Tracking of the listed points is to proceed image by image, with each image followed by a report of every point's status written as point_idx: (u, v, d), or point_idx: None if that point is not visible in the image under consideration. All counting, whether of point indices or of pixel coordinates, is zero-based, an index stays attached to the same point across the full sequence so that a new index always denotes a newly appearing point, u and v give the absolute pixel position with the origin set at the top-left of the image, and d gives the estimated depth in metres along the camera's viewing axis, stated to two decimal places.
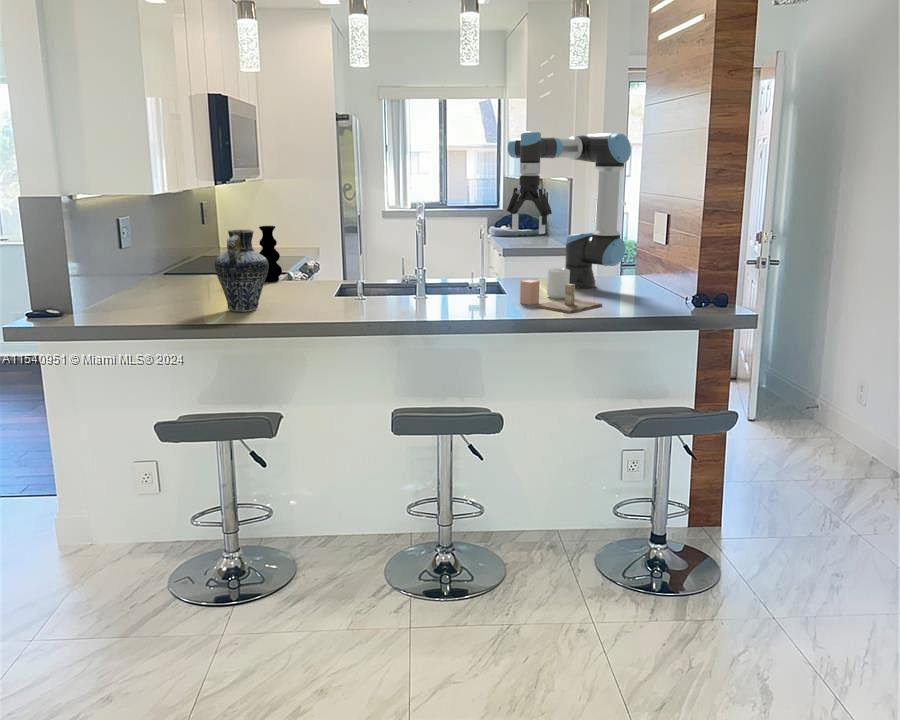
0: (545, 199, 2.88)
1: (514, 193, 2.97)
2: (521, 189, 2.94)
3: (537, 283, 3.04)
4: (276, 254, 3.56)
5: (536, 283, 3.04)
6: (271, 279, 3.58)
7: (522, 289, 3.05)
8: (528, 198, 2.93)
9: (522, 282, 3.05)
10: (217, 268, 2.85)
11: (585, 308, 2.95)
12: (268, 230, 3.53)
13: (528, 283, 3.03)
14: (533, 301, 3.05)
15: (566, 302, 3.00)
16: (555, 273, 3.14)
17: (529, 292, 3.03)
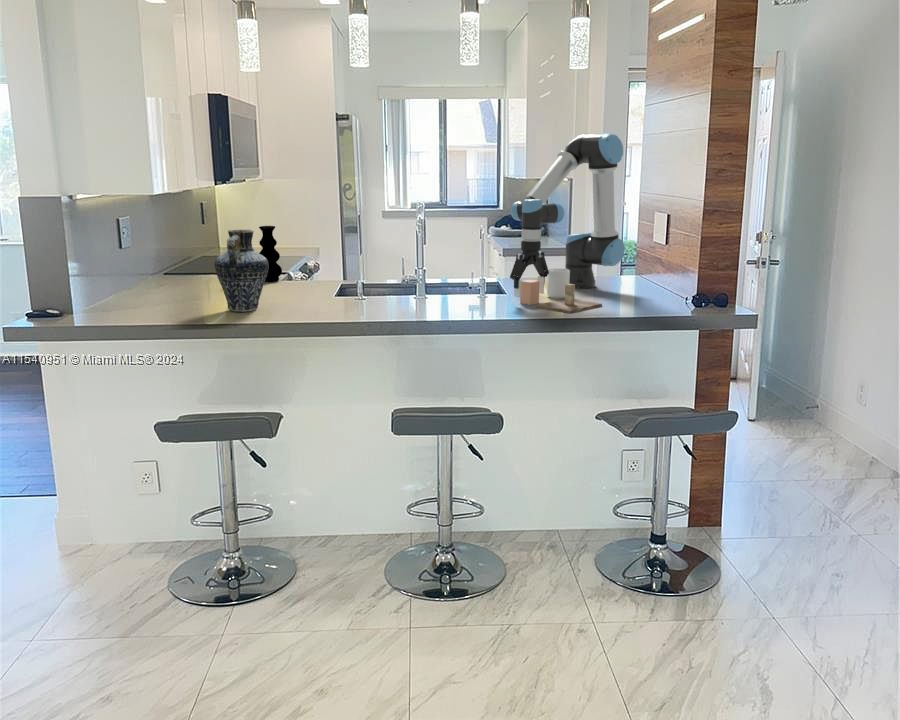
0: (516, 264, 2.98)
1: None
2: None
3: (537, 283, 3.04)
4: (276, 254, 3.56)
5: (536, 283, 3.04)
6: (271, 279, 3.58)
7: (522, 289, 3.05)
8: None
9: (522, 282, 3.05)
10: (217, 268, 2.85)
11: (585, 308, 2.95)
12: (268, 230, 3.53)
13: (528, 283, 3.03)
14: (533, 301, 3.05)
15: (566, 302, 3.00)
16: (555, 273, 3.14)
17: (529, 292, 3.03)
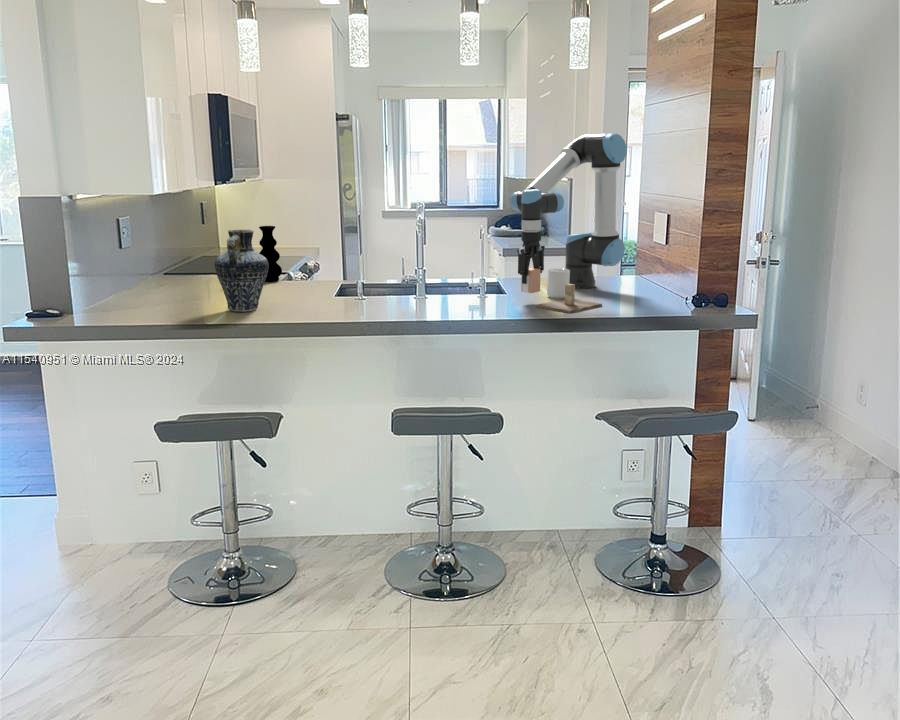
0: (520, 259, 2.99)
1: None
2: None
3: (538, 271, 3.04)
4: (276, 254, 3.56)
5: (537, 271, 3.03)
6: (271, 279, 3.58)
7: None
8: None
9: None
10: (217, 268, 2.85)
11: (585, 308, 2.95)
12: (268, 230, 3.53)
13: (529, 271, 3.02)
14: (534, 289, 3.04)
15: (566, 302, 3.00)
16: (555, 273, 3.14)
17: (530, 280, 3.02)
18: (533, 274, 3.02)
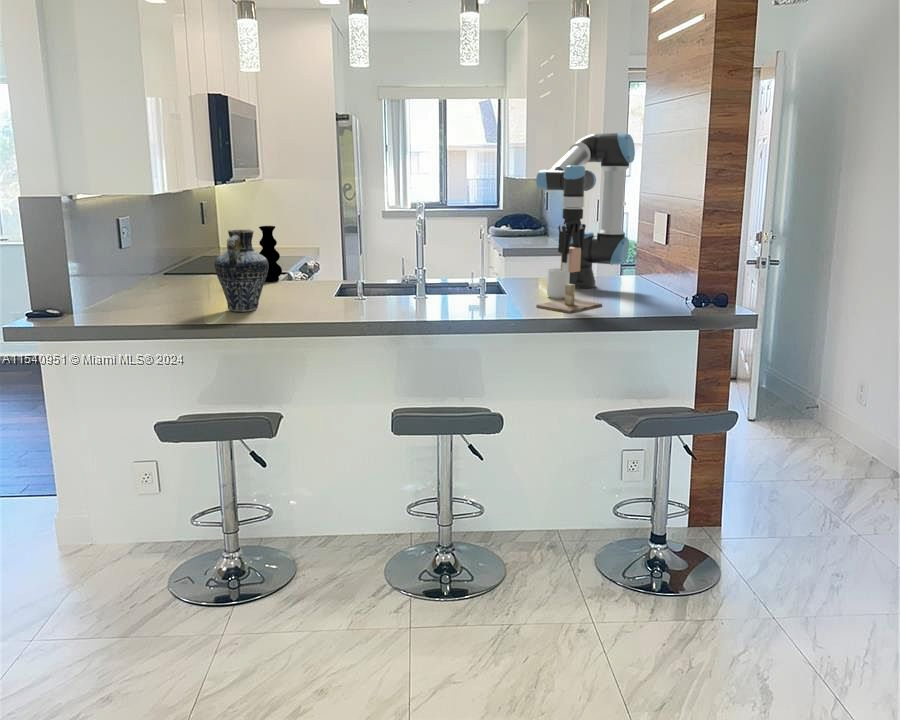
0: (561, 237, 2.90)
1: None
2: None
3: (579, 250, 2.94)
4: (276, 254, 3.56)
5: (578, 250, 2.94)
6: (271, 279, 3.58)
7: None
8: None
9: None
10: (217, 268, 2.85)
11: (585, 308, 2.95)
12: (268, 230, 3.53)
13: (570, 249, 2.92)
14: (574, 268, 2.94)
15: (566, 302, 3.00)
16: (555, 273, 3.14)
17: (571, 259, 2.93)
18: (574, 253, 2.92)
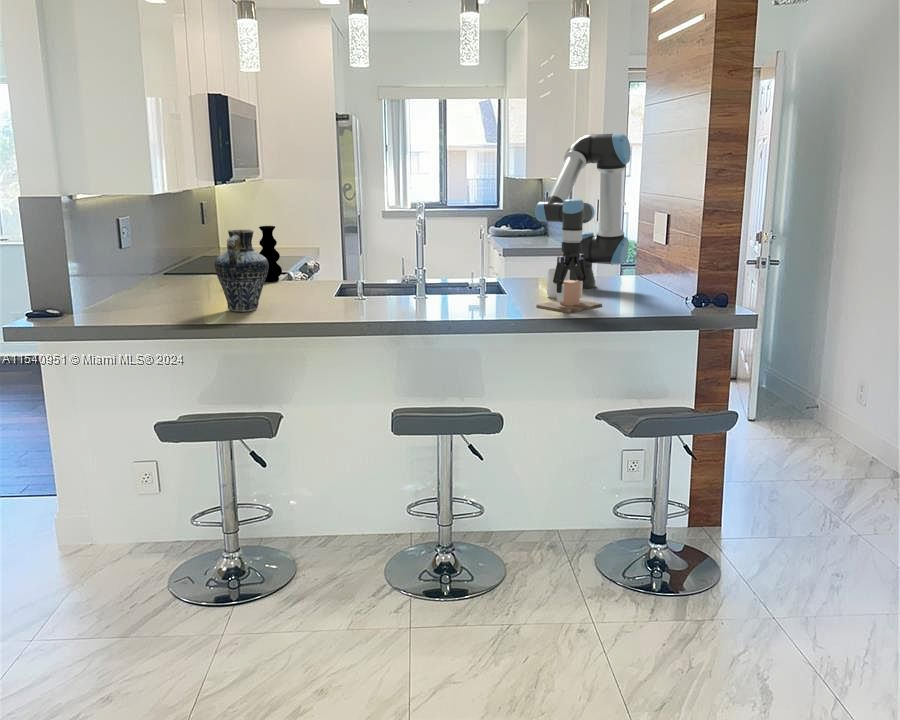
0: (558, 268, 2.92)
1: None
2: None
3: (578, 283, 2.98)
4: (276, 254, 3.56)
5: (576, 283, 2.97)
6: (271, 279, 3.58)
7: None
8: None
9: None
10: (217, 268, 2.85)
11: (585, 308, 2.95)
12: (268, 230, 3.53)
13: (569, 283, 2.96)
14: (573, 301, 2.98)
15: None
16: None
17: (570, 292, 2.96)
18: (573, 286, 2.96)
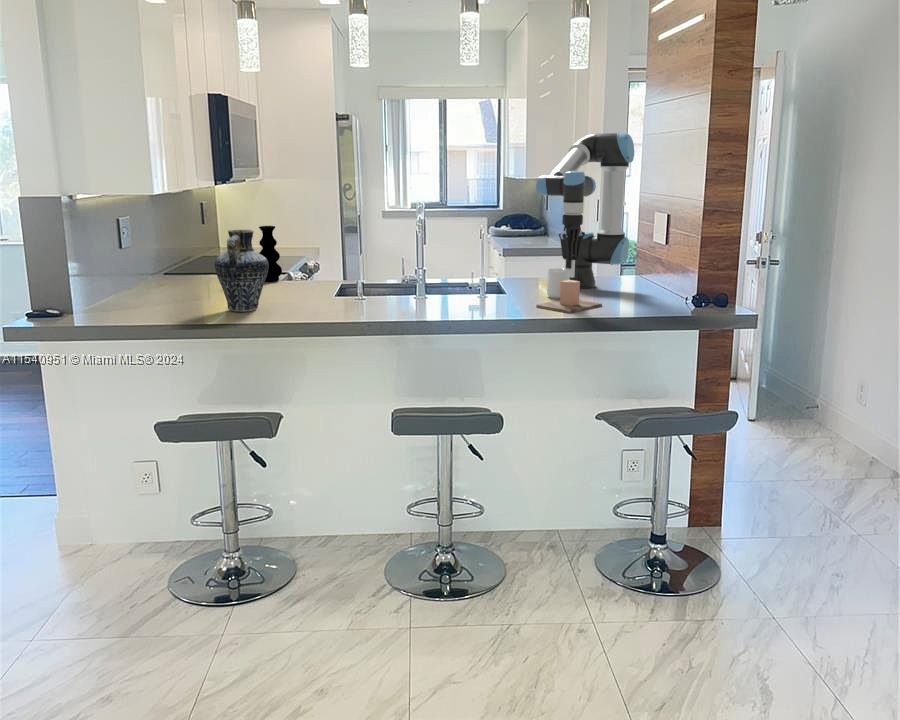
0: (563, 244, 2.91)
1: None
2: None
3: (578, 283, 2.98)
4: (276, 254, 3.56)
5: (576, 283, 2.97)
6: (271, 279, 3.58)
7: (562, 289, 2.98)
8: None
9: (562, 282, 2.98)
10: (217, 268, 2.85)
11: (585, 308, 2.95)
12: (268, 230, 3.53)
13: (569, 283, 2.96)
14: (573, 301, 2.98)
15: None
16: (555, 273, 3.14)
17: (570, 292, 2.96)
18: (573, 286, 2.96)
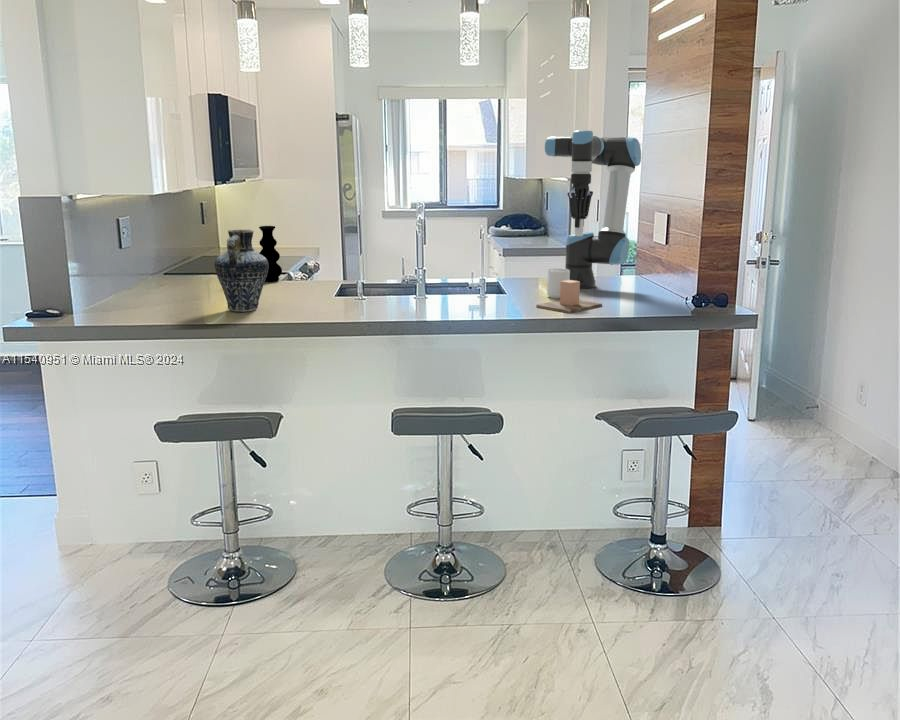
0: (572, 203, 2.95)
1: None
2: None
3: (578, 283, 2.98)
4: (276, 254, 3.56)
5: (576, 283, 2.97)
6: (271, 279, 3.58)
7: (562, 289, 2.98)
8: None
9: (562, 282, 2.98)
10: (217, 268, 2.85)
11: (585, 308, 2.95)
12: (268, 230, 3.53)
13: (569, 283, 2.96)
14: (573, 301, 2.98)
15: None
16: (555, 273, 3.14)
17: (570, 292, 2.96)
18: (573, 286, 2.96)
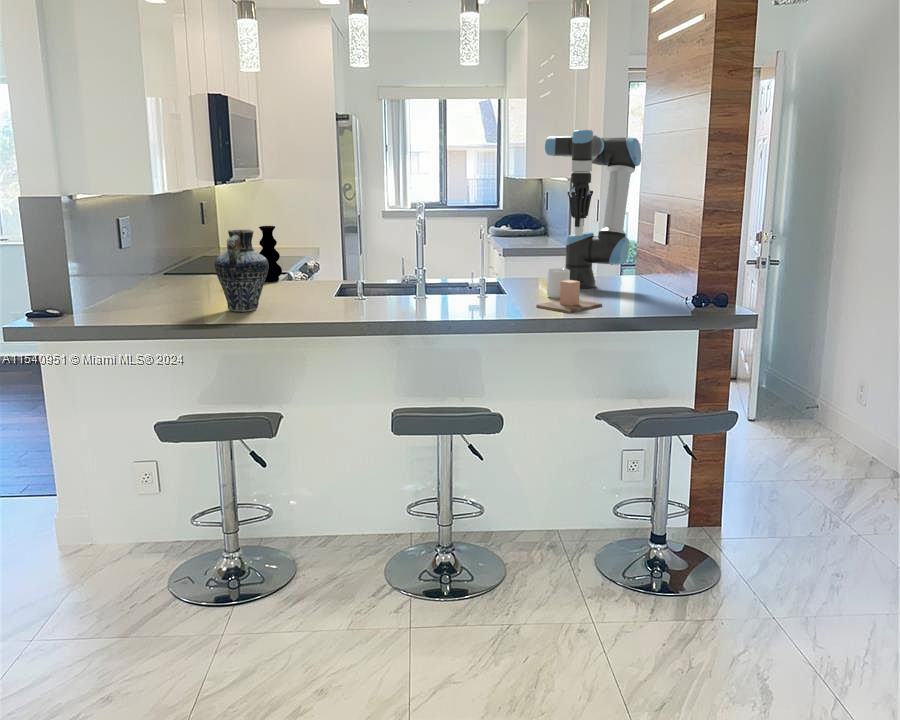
0: (572, 202, 2.95)
1: None
2: None
3: (578, 283, 2.98)
4: (276, 254, 3.56)
5: (576, 283, 2.97)
6: (271, 279, 3.58)
7: (562, 289, 2.98)
8: None
9: (562, 282, 2.98)
10: (217, 268, 2.85)
11: (585, 308, 2.95)
12: (268, 230, 3.53)
13: (569, 283, 2.96)
14: (573, 301, 2.98)
15: None
16: (555, 273, 3.14)
17: (570, 292, 2.96)
18: (573, 286, 2.96)
